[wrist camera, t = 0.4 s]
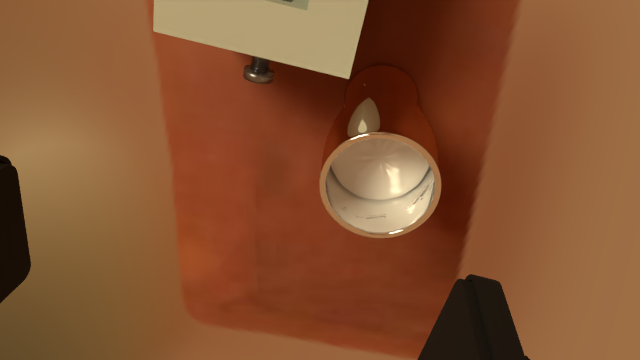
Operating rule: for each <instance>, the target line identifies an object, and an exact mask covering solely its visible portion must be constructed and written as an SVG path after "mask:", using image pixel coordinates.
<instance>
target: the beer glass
mask: <svg viewBox="0 0 640 360" xmlns="http://www.w3.org/2000/svg"><path fill="white" fill-rule="evenodd" d="M344 104H345V107H344V108H343V109H342V110H341V112H340V113H339V114H338V116H337V117H336V119H335V120H334V122H333V124H332V126H331V128H330V131H329V133H328V136H327V139H326V142H325V147H324V151H323V157H322V166H321V174H320V180H319V189H320V195H321V199H322V202H323V204H324V206H325V208H326V210H327V211H328V213H329V214H330V215H331V217H332V218H333V219H334V220H335V221H336V222H337V223H339V224H340V225H341V226H343V227H344V228H346V229H347V230H349V231H351V232H353V233H356V234H359V235H362V236H366V237H372V238H390V237H396V236H399V235H403V234H406V233H408V232H410V231H412V230H414V229H416V228H417V227H419V226H420V225H421V224H423V223H424V222H425V221H426V220H427V219H428V218H429V217H430V215H431V214H432V213H433V211H434V210H435V208H436V206H437V204H438V201H439V198H440V194H441V176H440V165H439V155H438V149H437V143H436V140H435V137H434V134H433V131H432V128H431V126H430V124H429V122H428V120H427V119H426V117H425V116H424V114H423V112H422V111H421V110H420V109H419V108H418V92H417V88H416V86H415V84H414V82H413V80H412V79H411V78H410V77H409V76H408V75H407V74H406V73H405V72H404V71H402V70H401V69H399V68H396V67H394V66H390V65H374V66H371V67H368V68H366V69H364V70H362V71H360V72H359V73H358V74H357V75H355V76H354V77H353V79H352V80H351V81H350V83H349V85H348V86H347V89H346V92H345V98H344Z"/></svg>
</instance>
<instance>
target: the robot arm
mask: <svg viewBox="0 0 640 360" xmlns="http://www.w3.org/2000/svg"><path fill="white" fill-rule="evenodd" d="M30 267H31V262H30V255H29V248H28V241H27V234H26V228H25V220H24V214H23V207H22V201H21V193H20V186H19V180H18V173H17V170H16V168H15V167H14V166H12V164H11V162H10V160H9V159H8V158H6V157H4V156H1V155H0V303H1V302H2V301H3V300H4V299H5V298H6V297H7V296H8V295H9V294H10V293H11V292H12V291H13V290H15V288H16V287H18V286H19V285H20V284H21V283H22V282H23V281H24V280H25V278H26V277H27V275H28V273H29V271H30ZM418 360H530V359H529V358H528V357H527V356H524V353H523V350H522V346H521V343H520V340H519V337H518V334H517V332H516V329H515V325H514V323H513V319H512V316H511V313H510V310H509V308H508V304H507V301H506V298H505V295H504V292H503V289H502V286H501V284H500V283H499V282H498V281H496V280H492V279H488V278H484V277H480V276H476V275H472V274H471V275H468V276H467V277H466V279H465V280H463V279H458V280H457V281H456V282H455V284H454V286H453V288H452V290H451V292H450V294H449V297H448V299H447V301H446V303H445V305H444V307H443V309H442V311H441V313H440V315H439V317H438V319H437V321H436V323H435V325H434V327H433V329H432V331H431V333H430V335H429V337H428V339H427V341H426V344H425V346H424V348H423V350H422V352H421V354H420V356H419V358H418Z"/></svg>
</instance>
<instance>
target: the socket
mask: <svg viewBox="0 0 640 360" xmlns="http://www.w3.org/2000/svg"><path fill="white" fill-rule="evenodd" d="M368 1H369V0H289V2H287V1H283V0H154V26H153V31H155V32H159V33H163V34H167V35H171V36H175V37H179V38H183V39H187V40H191V41H195V42H199V43H204V44H208V45H212V46H216V47H220V48H224V49H228V50H232V51H236V52H240V53H244V54H248V55H252V56H257V57H261V58H265V59H269V60H273V61H277V62H281V63H285V64H289V65H293V66H297V67H301V68H305V69H309V70H314V71H318V72H322V73H326V74H330V75H334V76H338V77H342V78H346V79H349V77H350V73H351V69H352V65H353V61H354V57H355V53H356V49H357V45H358V41H359V37H360V33H361V29H362V25H363V21H364V17H365V13H366V9H367V5H368Z"/></svg>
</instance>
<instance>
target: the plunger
mask: <svg viewBox="0 0 640 360" xmlns="http://www.w3.org/2000/svg"><path fill="white" fill-rule="evenodd" d="M283 1H287V2H289V0H283ZM269 63H270V60H269V59H265V58H261V57H257V56H252V60H251V65H246V66H245V67H244V74H243V77H244V78H245V79H246V80H248V81H251V82H254V83H259V84H269V83H272V82H273V76H274V71H273V70H272V69H270V68H269Z"/></svg>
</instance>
